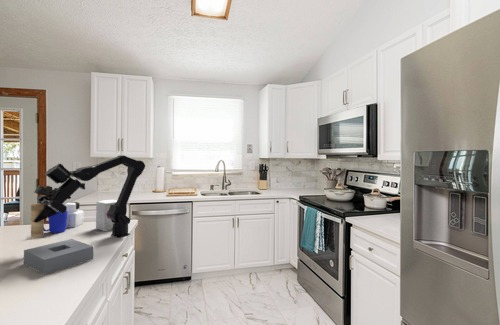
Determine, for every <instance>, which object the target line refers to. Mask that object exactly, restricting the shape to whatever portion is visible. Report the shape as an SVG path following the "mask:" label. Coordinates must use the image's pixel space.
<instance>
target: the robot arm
mask: <svg viewBox="0 0 500 325" xmlns="http://www.w3.org/2000/svg"><path fill="white" fill-rule="evenodd" d="M120 165H122V166H125V167H127V170H126V171H127V174H126V175H127V176H126V178H125V181H124V183H123V185H122V188H121V191H120V193H119V195H118V198H117V200H116V201H117V202H116V203H115V204H114V205H112V204H111V205H110V208H109V210H108V211H107V212H108V217H109V219H111V221H112V222H113V223H114V224H113V227H112V230H111V234H110V236H111V237H115V238H117V239H118V238H123V237H126V236H129V235H130V234H131V233H129V224H130V223H131V218H130V217H129V216H127V212H128V207H127V204H128V201H129V199H130V197H131V195H132V192H133V190H134V187H135V185H136V182H137V180H138V178H139V177H140V176H141V175H142V173H143V172H144V170H145V168H146V164H145V162H144V161H143V160H139V159H138V160H136V159H134V158H132V157H129V156H126V155H123V154H121V155H117V156H115V157H113V158H110V159H108V160H105V161H103V162H100V163H97V164H94V165H87V166H83V167H78V168H76V169H75V170H73V171H72V170H71V171H69V169H67V168H66V167H65V166H64V165H63V163H57V164H56V165H55V166H53V167H50V168H49V169H48V170H47V171H46V172H45V174H44V175H45V176H46V177H48V178H49V179H50V180H51V181H53V182H54V183H55V184H58V185H59V184H61V185H60V186H58V187H54V188H53V186H50V185H46V186H43V185H42V186H41V185H37V186H36V188H35V190H34V192H33V193H34V194H38V197H37V198H36V201H37V204H44V209H43V210H42V211H41V213H40V214H39V215H38V216H37V217H36V219H35V220H34V222H36V223H37V222H39V221H41V220H43V219H44V220H45V219H48V217H50V216H53V215H55V214H58V212H57V211H60V213H62V214H63V213H64V212H65V211H66V210H67V207H66V204H64V203H65V202H66V201H67V200H70V199H71V198H72V195H73V194H74V193H76V191H77V190H79V189H81V190H84V191H85V189H86V183H85V182H89V181H91V180H93V178H96V177H97V176H98V175H99V174H102V173H103V172H106V171H108V170H110V169H113V168H115V167H118V166H120ZM73 178H75V179H73ZM81 181H82V182H81Z"/></svg>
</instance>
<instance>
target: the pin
mask: <svg viewBox="0 0 500 325" xmlns="http://www.w3.org/2000/svg"><path fill="white" fill-rule="evenodd" d="M43 209H44V204H38V203H33V204H31V205H30V239H40V238H43V237H44V236H45V234H44V233H45V231H44V229H45V219H43V220H41V221H39V222H37V223H36V222H34V220H35V219H36V217H37V216H38V215H39V214H40V213H41V211H42V210H43Z"/></svg>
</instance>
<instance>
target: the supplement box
mask: <svg viewBox="0 0 500 325" xmlns="http://www.w3.org/2000/svg"><path fill="white" fill-rule="evenodd" d="M116 202H117V200H115V199H106V200H100V201H96V207H95V208H96V211H95V212H96V214H95V217H96V218H95V229H97V230H99V231H103V232H107V231H112V227H113V224H114V223H113V222H112V221H111V219H109V217H108V212H107V211H108V210H109V208H110V205H111V204H112V205H114V204H115V203H116Z"/></svg>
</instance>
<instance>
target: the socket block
mask: <svg viewBox="0 0 500 325" xmlns="http://www.w3.org/2000/svg"><path fill="white" fill-rule="evenodd" d="M91 260H94V246H93V245H90V244H87V243H85V242H82V241H79V240H76V239H74V238H70V239H65V240H60V241H57V242H52V243H48V244H43V245H41V246H40V245H39V246H36V247H32V248H27V249H24V250H23V264H24V265H26V266H28V267H29V268H31V269H33V270H35V271H37V272H39V273H41V274H43V275H47V274H51V273H55V272H58V271H60V270H62V269H66V268H69V267H73V266H75V265H79V264H81V263H82V264H83V263H84V262H87V261H88V262H89V261H91Z"/></svg>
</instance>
